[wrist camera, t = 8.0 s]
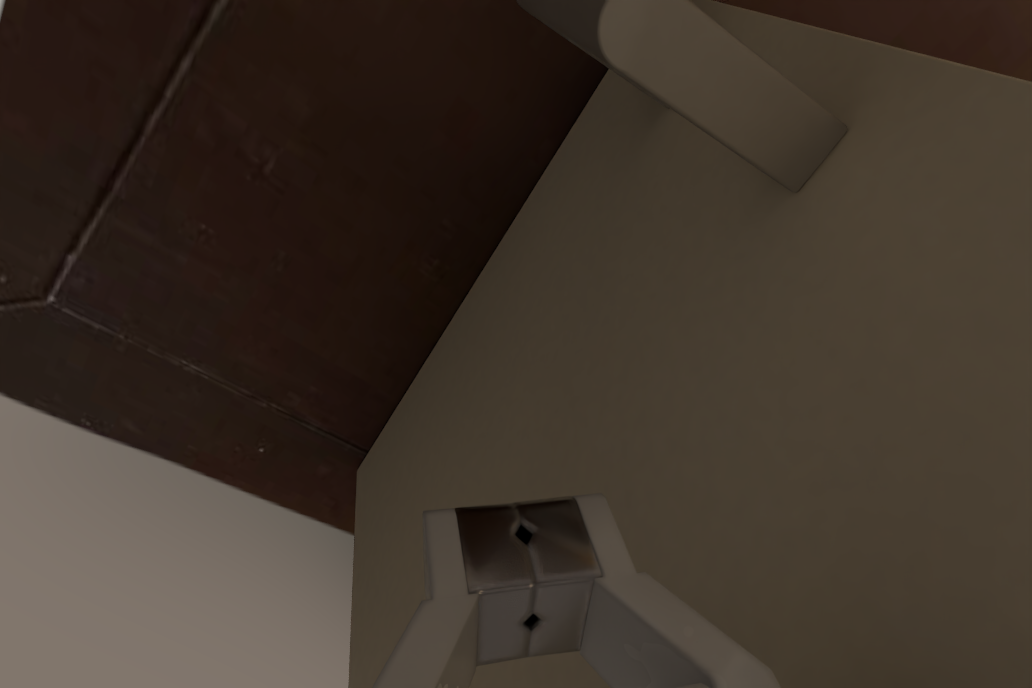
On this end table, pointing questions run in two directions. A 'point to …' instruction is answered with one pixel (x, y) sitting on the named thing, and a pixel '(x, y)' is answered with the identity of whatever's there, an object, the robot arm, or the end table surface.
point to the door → (751, 354)
